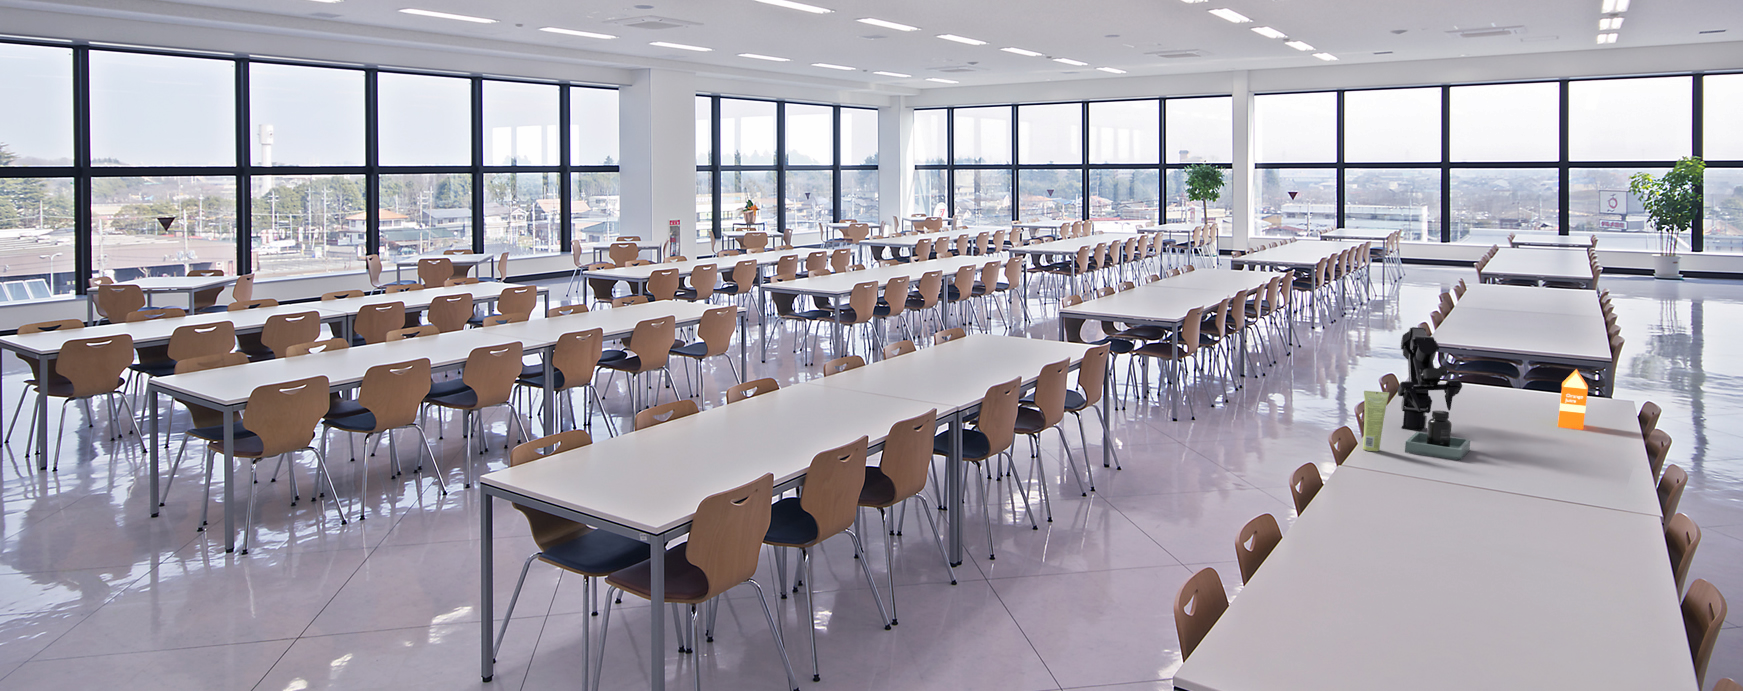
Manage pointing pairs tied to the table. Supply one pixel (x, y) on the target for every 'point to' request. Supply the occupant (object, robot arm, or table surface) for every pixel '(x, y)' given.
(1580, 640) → the table surface
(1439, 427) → the supplement bottle
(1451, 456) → the tray
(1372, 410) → the tube
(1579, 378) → the orange juice
